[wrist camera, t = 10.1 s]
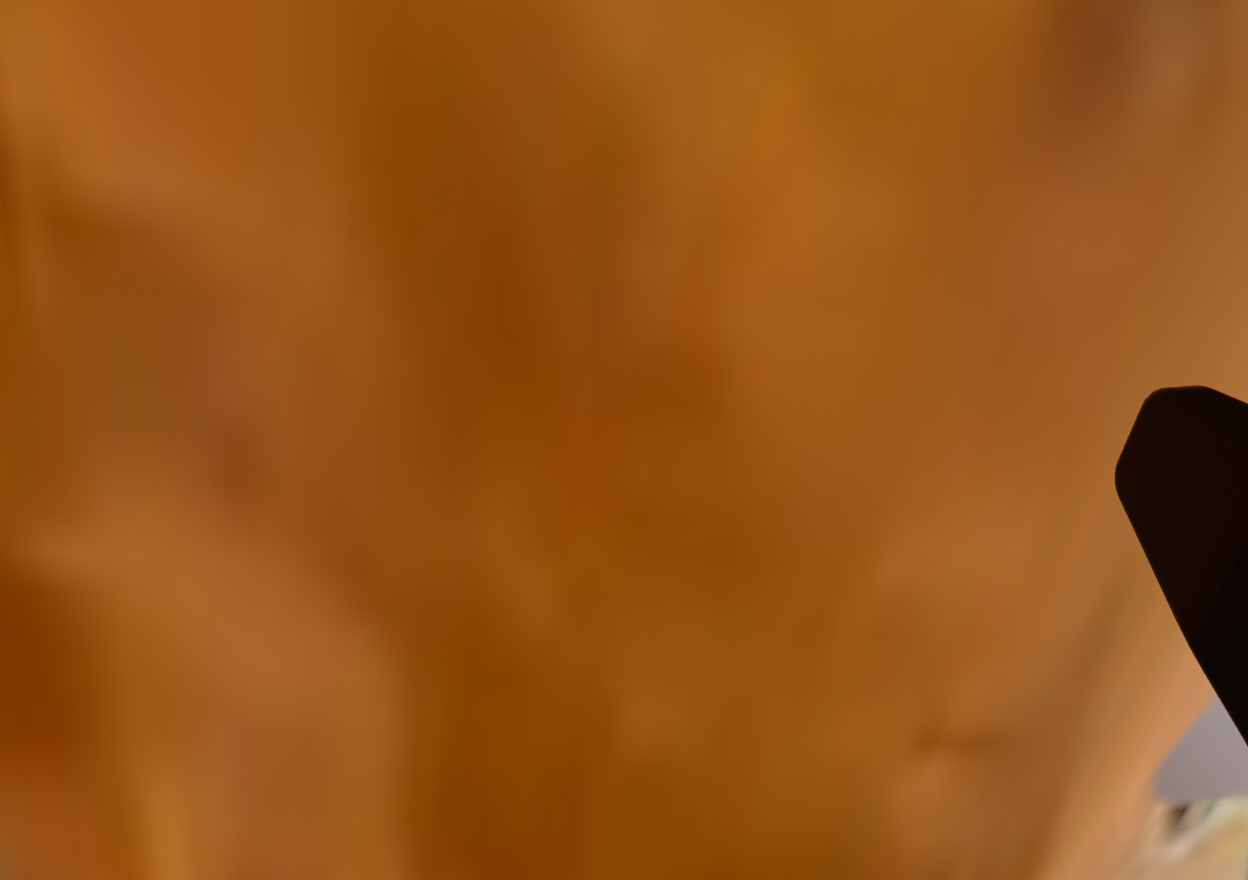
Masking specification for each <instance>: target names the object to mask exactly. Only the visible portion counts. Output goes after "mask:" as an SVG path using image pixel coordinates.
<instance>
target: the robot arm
mask: <svg viewBox="0 0 1248 880" xmlns="http://www.w3.org/2000/svg"><path fill="white" fill-rule="evenodd" d="M1115 485H1116V490H1117V494H1118V496H1119V499H1120V501H1121V503H1122V505H1123V507H1124V509H1125V512H1126V514H1127V516H1128V518H1129V520H1130V522H1131V524H1132V527H1133V529H1134V531H1135V533H1136V535H1137V537H1138V539H1139V542H1140V544H1141V546H1142V548H1143V550H1144V552H1145V554H1146V557H1147V559H1148V561H1149V563H1150V565H1151V567H1152V570H1153V572H1154V574H1155V576H1156V578H1157V580H1158V582H1159V585H1160V587H1161V589H1162V591H1163V593H1164V595H1165V597H1166V600H1167V602H1168V604H1169V606H1170V608H1171V610H1172V612H1173V615H1174V617H1175V619H1176V621H1177V623H1178V625H1179V627H1180V629H1181V631H1182V633H1183V635H1184V637H1185V639H1186V641H1187V643H1188V645H1189V647H1190V649H1191V651H1192V652H1193V654H1194V656H1195V658H1196V659H1197V661H1198V663H1199V665H1200V667H1201V668H1202V670H1203V672H1204V673H1205V675H1206V677H1207V679H1208V680H1209V682H1210V684H1211V685H1212V687H1213V689H1214V690H1215V692H1216V694H1217V695H1218V697H1219V699H1220V700H1221V702H1222V704H1223V705H1224V707H1225V709H1226V710H1227V712H1228V714H1229V715H1230V717H1231V719H1232V721H1233V722H1234V724H1235V726H1236V727H1237V729H1238V731H1239V732H1240V734H1241V736H1242V737H1243V739H1244V741H1245V742H1246V744H1247V746H1248V403H1245V402H1243V401H1241V400H1238V399H1236V398H1233V397H1231V396H1229V395H1226V394H1224V393H1221V392H1219V391H1217V390H1214V389H1212V388H1209V387H1206V386H1198V385H1196V386H1181V387H1167V388H1161V389H1158V390H1156V391H1153V392H1152V393H1151V394H1150V395H1149V396H1148V397H1147V398H1146V399H1145V401H1144V403H1143V404H1142V407H1141V409H1140V411H1139V413H1138V416H1137V418H1136V420H1135V423H1134V425H1133V427H1132V430H1131V432H1130V434H1129V436H1128V439H1127V441H1126V443H1125V446H1124V448H1123V450H1122V453H1121V455H1120V457H1119V459H1118V462H1117V465H1116V470H1115Z"/></svg>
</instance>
